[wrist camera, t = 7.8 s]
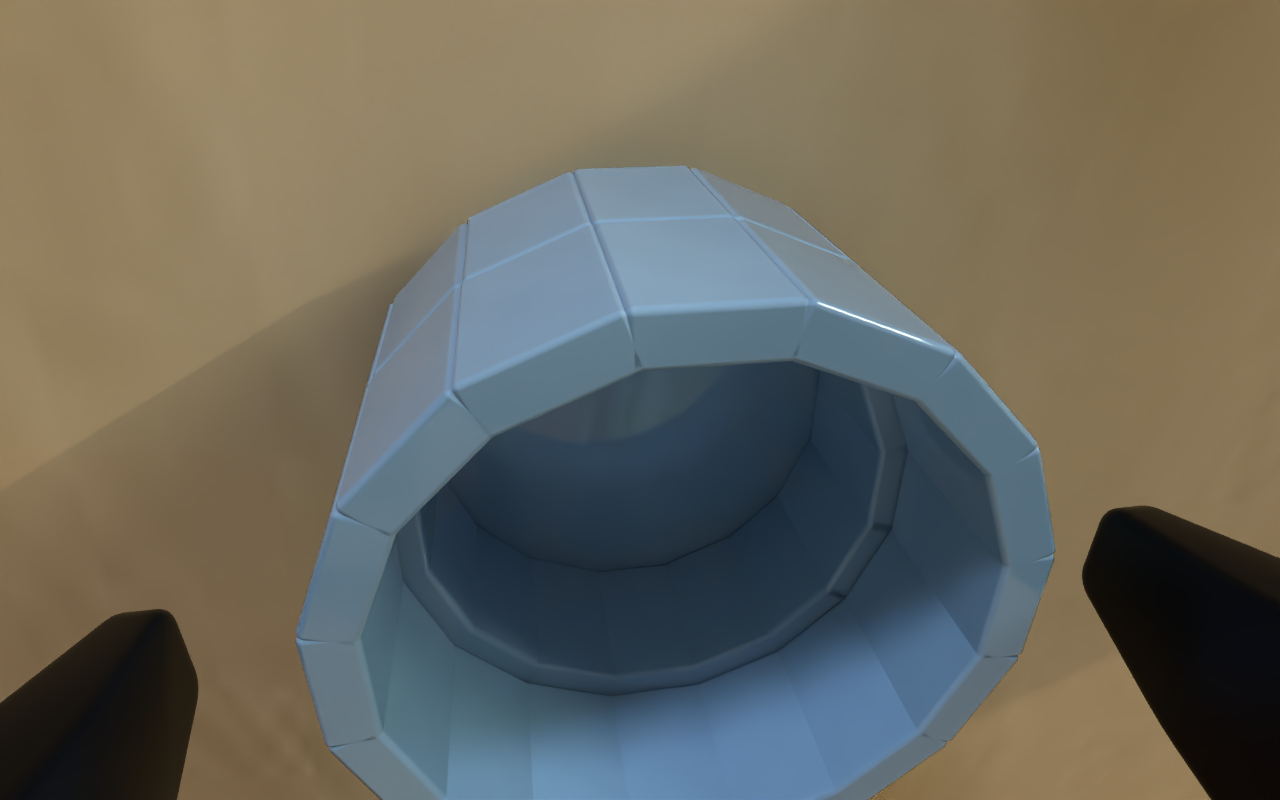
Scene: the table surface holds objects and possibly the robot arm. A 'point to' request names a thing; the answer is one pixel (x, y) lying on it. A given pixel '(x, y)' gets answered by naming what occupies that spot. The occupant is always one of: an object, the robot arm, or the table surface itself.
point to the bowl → (665, 514)
